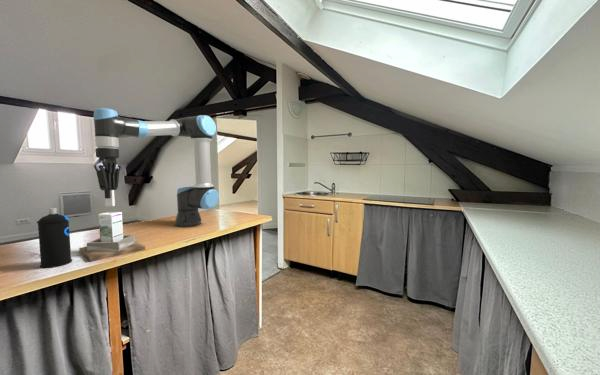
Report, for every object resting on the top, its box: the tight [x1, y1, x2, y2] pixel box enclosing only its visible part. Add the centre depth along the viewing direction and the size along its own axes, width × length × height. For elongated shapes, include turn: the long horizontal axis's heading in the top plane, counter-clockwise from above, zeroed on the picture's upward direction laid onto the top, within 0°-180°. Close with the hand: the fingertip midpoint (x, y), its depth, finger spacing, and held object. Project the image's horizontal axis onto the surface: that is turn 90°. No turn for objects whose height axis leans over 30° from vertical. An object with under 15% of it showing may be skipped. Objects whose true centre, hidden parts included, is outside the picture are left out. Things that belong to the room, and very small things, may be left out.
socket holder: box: [78, 234, 146, 263], centre depth 102 cm, size 18×18×5 cm
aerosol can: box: [36, 207, 73, 269], centre depth 87 cm, size 8×8×20 cm
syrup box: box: [98, 211, 124, 242], centre depth 102 cm, size 6×6×14 cm
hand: (110, 205), depth 101 cm, fingers closed
